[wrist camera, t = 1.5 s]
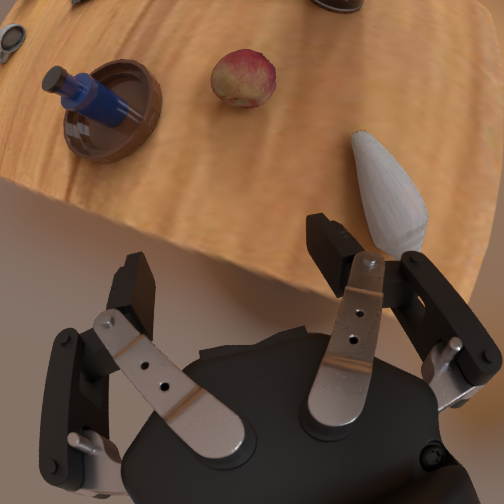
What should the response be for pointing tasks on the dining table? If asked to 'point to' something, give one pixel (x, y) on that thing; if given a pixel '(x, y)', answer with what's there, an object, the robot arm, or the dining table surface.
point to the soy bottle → (86, 96)
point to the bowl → (133, 126)
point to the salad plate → (75, 1)
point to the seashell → (388, 198)
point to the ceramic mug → (10, 40)
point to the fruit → (244, 79)
